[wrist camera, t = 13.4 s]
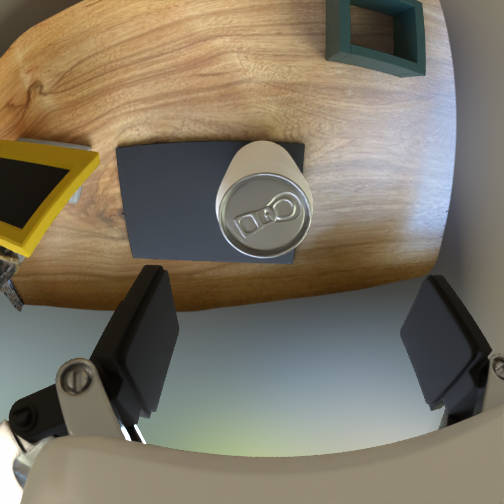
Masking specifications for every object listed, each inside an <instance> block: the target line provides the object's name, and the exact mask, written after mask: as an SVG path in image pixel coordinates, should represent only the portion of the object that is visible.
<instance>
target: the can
mask: <svg viewBox="0 0 504 504" xmlns="http://www.w3.org/2000/svg"><path fill="white" fill-rule="evenodd" d="M312 213H313V199H312V194H311V191H310V188H309V186H308V184H307V182H306V180H305V178H304V177H303V175H302V173H301V172H300V170H299V168H298V167H297V165H296V164H295V162H294V160H293V159H292V157H291V156H290V155H289V153H288V152H287V151H286V150H285V149H284V148H283V147H281V146H280V145H278V144H276V143H273V142H270V141H255V142H252V143H249V144H247V145H245V146H244V147H242V148H241V149H240V150H239V151H238V152H237V153H236V155H235V156H234V158H233V160H232V161H231V163H230V165H229V167H228V170H227V172H226V174H225V176H224V178H223V180H222V183H221V185H220V187H219V190H218V193H217V197H216V214H217V218H218V221H219V225H220V228H221V231H222V233H223V235H224V237H225V238H226V240H227V241H228V242H229V243H230V244H231V245H232V246H233V247H234V248H236V249H237V250H238V251H240V252H242V253H244V254H246V255H249V256H253V257H258V258H271V257H277V256H280V255H283V254H285V253H287V252H289V251H291V250H292V249H294V248H295V247H296V246H298V245H299V244H300V243H301V241H302V240H303V239H304V237H305V236H306V234H307V232H308V230H309V227H310V223H311V218H312Z"/></svg>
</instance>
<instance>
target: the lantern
mask: <svg viewBox="0 0 504 504" xmlns="http://www.w3.org/2000/svg"><path fill="white" fill-rule="evenodd" d="M24 258H25V256H23V255H20V254H18V253H16V252H14V251H12V250H9V249H7V248H5V247H3V246H1V245H0V288H1V287H2V286H3V285H4V284H5V283H6V282H7V281H8V280H9V279H10V278H11V277H12V276H13V275H14V274H16V273H17V271H18V269H19V266H20V263H21V262H22V261H23V259H24Z"/></svg>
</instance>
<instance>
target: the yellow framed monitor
mask: <svg viewBox="0 0 504 504" xmlns="http://www.w3.org/2000/svg"><path fill="white" fill-rule="evenodd" d="M91 149H92V148H91V146H86V145H79V144H72V143H65V142H57V141H49V140H40V139H30V138H19V139H18V140H17V141H9V140H0V245H1V246H3V247H5V248H7V249H9V250H12V251H14V252H16V253H18V254H20V255H23V256H25V257H27V258H28V257H30V255H31V254H32V252H33V251H34V249H35V247H36V246H37V244H38V243H39V241H40V240H41V238H42V237H43V235H44V234H45V232H46V231H47V229H48V228H49V226H50V225H51V224H52V222H53V221H54V219H55V218H56V217H57V215H58V214H59V213H60V211H61V210H62V209H63V207H64V206H65V205H66V203H67V202H70V203H74V204H75V203H76V202H78V201H79V198H80V193H81V188H82V184H83V182H84V181H85V180H86V179H87V178H88V177H89V175H90V174H91V173H92V172H93V171H94V170H95V169H96V168H97V167H98V165H99V164H100V160H99V153H98V152H93V151H91Z"/></svg>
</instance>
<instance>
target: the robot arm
mask: <svg viewBox="0 0 504 504" xmlns="http://www.w3.org/2000/svg"><path fill="white" fill-rule="evenodd" d="M178 333H179V325H178V320H177V315H176V310H175V305H174V301H173V296H172V291H171V285H170V280H169V274H168V271H167V270H163V267H162V266H160V265H145V266H144V267H143V269H142V270H141V272H140V274H139V275H138V277H137V279H136V280H135V282H134V284H133V285H132V287H131V289H130V290H129V292H128V294H127V296H126V297H125V299H124V300H123V301H121V302H120V304H119V305H118V307H117V308H116V310H115V312H114V314H113V316H112V317H111V319H110V321H109V323H108V325H107V327H106V328H105V330H104V332H103V334H102V336H101V338H100V340H99V341H98V343H97V345H96V347H95V349H94V351H93V353H92V355H91V357H90V359H89V360H87V359H84V358H75V359H71V360H69V361H67V362H66V363H64V364H63V365H62V366H61V367H60V369H59V370H58V372H57V375H56V384H53V385H51V386H49V387H47V388H44V389H42V390H40V391H38V392H35V393H33V394H31V395H29V396H26V397H24V398H22V399H20V400H18V401H17V402H15V403H14V405H13V406H12V408H11V410H10V413H9V421H6V420H3V421H2V422H1V423H0V504H504V355H502V354H494V355H492V357H491V358H490V359H488V358H487V357H488V355H489V354H490V353H491V351H492V349H491V347H490V345H489V344H488V342H487V340H486V338H485V337H484V335H483V334H482V332H481V330H480V329H479V327H478V325H477V324H476V322H475V321H474V319H473V318H472V316H471V315H470V313H469V312H468V310H467V309H466V307H465V306H464V304H463V303H462V301H461V300H460V299H459V297H458V296H457V294H456V293H455V291H454V290H453V289H452V288H451V286H450V285H449V283H448V282H447V281H446V279H445V278H444V277H443V276H442V275H429V276H428V277H427V278H426V279H425V280H424V281H423V283H422V285H421V288H420V290H419V292H418V294H417V297H416V299H415V301H414V303H413V306H412V308H411V310H410V312H409V314H408V316H407V318H406V320H405V322H404V324H403V326H402V328H401V331H400V335H401V339H402V341H403V343H404V346H405V348H406V350H407V353H408V355H409V358H410V360H411V363H412V365H413V368H414V371H415V373H416V376H417V379H418V381H419V384H420V387H421V390H422V393H423V395H424V398H425V401H426V403H427V404H429V407H430V409H431V411H433V410H436V409H439V408H442V406H444V405H445V408H446V409H445V412H444V415H443V418H442V420H441V424H440V426H439V429H438V430H436V431H433V432H430V433H427V434H424V435H421V436H417V437H414V438H410V439H407V440H403V441H399V442H395V443H391V444H387V445H382V446H377V447H372V448H367V449H361V450H355V451H349V452H342V453H334V454H325V455H314V456H300V457H299V456H298V457H243V456H227V455H217V454H207V453H198V452H191V451H184V450H177V449H172V448H166V447H161V446H156V445H151V444H146V443H145V441H144V439H143V437H142V435H141V434H140V432H139V430H138V428H137V426H136V424H137V423H138V419H139V416H140V417H144V418H150V415H151V412H155V411H156V410H157V406H158V403H159V399H160V395H161V391H162V388H163V385H164V381H165V378H166V374H167V370H168V367H169V364H170V360H171V357H172V354H173V350H174V347H175V344H176V340H177V337H178Z"/></svg>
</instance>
